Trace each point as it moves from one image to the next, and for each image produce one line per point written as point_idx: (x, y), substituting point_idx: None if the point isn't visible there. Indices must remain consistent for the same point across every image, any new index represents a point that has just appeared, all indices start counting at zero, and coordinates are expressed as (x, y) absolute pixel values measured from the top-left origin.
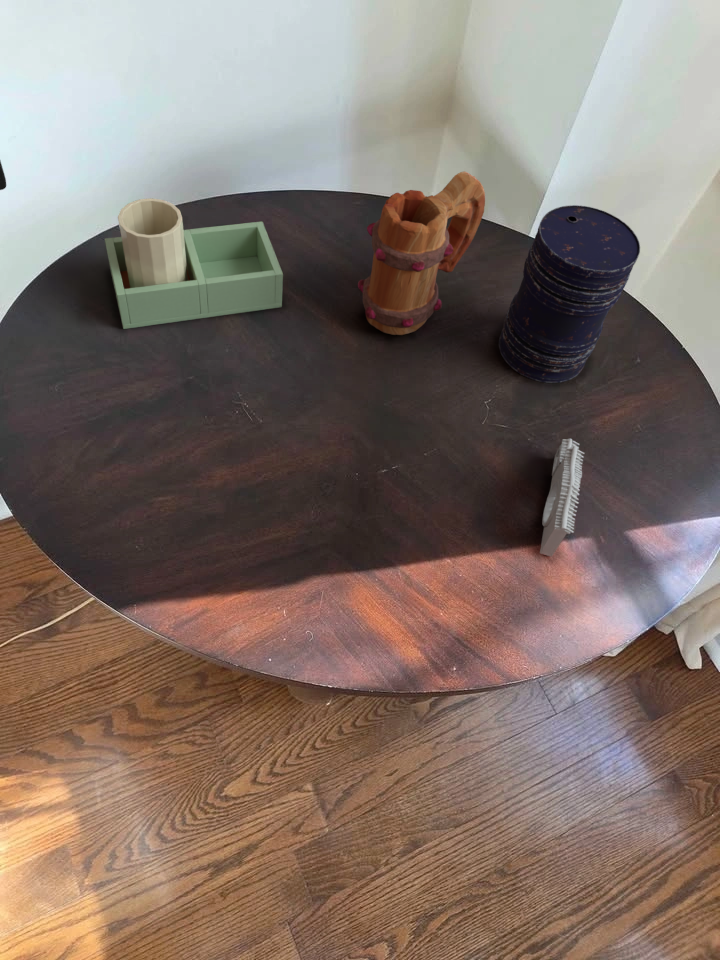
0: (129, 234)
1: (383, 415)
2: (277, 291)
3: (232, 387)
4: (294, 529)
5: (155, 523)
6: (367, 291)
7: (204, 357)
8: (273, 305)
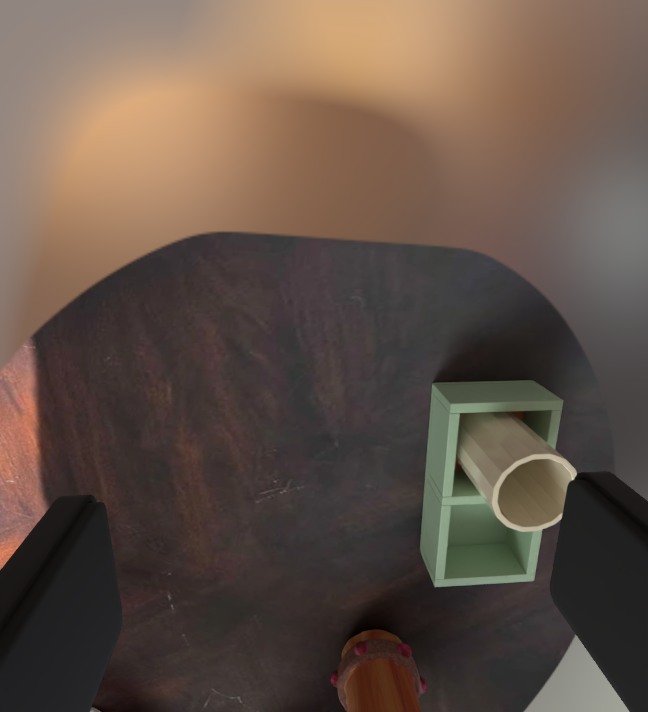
0: (510, 463)
1: (240, 611)
2: (427, 563)
3: (311, 482)
4: (109, 507)
5: (136, 380)
6: (385, 659)
7: (364, 461)
8: (421, 545)
